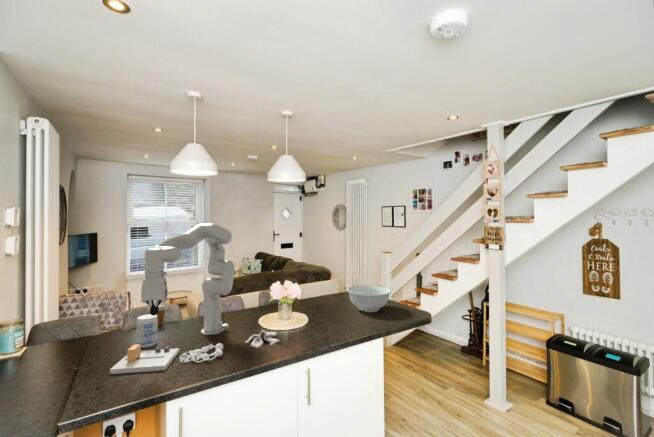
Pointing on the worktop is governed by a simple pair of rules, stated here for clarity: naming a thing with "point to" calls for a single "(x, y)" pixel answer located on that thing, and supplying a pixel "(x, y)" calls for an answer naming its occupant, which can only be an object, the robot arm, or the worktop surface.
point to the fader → (134, 352)
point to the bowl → (368, 297)
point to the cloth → (262, 338)
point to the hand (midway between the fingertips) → (154, 314)
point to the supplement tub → (147, 330)
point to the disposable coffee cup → (160, 314)
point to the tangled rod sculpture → (203, 356)
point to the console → (147, 361)
